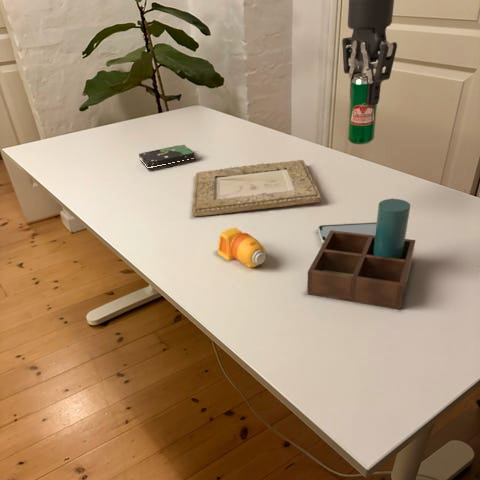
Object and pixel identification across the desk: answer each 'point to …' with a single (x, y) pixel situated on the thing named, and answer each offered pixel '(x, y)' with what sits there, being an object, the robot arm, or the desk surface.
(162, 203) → the desk surface
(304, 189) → the picture frame
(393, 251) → the can
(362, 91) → the soda can
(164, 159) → the disk drive
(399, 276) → the brown wooden compartment tray
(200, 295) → the desk surface
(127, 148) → the desk surface
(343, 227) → the smartphone
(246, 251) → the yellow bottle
